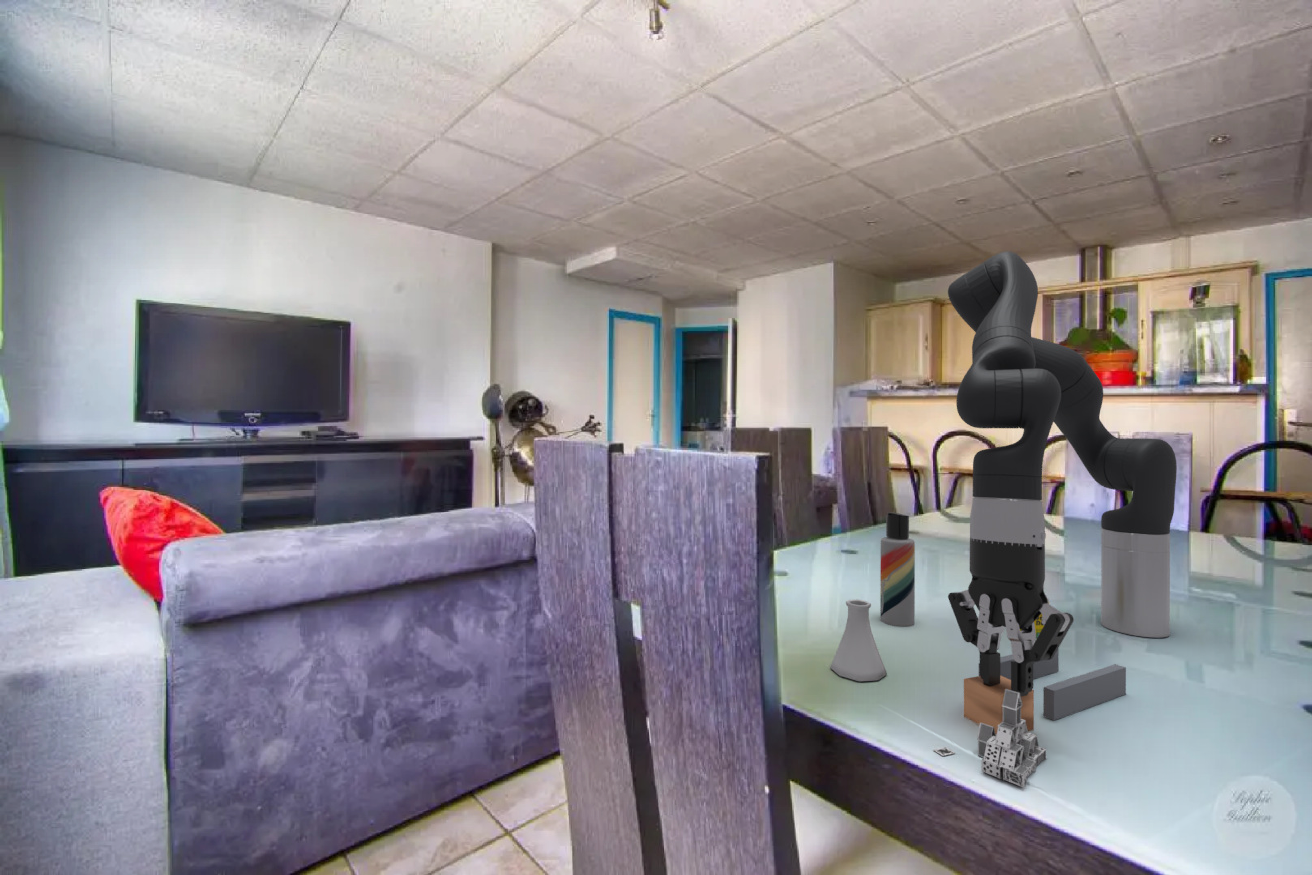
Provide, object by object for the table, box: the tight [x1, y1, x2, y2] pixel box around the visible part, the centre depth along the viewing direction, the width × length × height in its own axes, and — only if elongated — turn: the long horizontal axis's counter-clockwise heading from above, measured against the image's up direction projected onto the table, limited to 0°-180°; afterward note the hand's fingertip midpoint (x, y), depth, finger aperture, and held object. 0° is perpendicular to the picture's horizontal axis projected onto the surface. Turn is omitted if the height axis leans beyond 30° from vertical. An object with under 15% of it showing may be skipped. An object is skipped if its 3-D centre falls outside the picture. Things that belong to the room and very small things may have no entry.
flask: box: [829, 598, 888, 682], centre depth 82 cm, size 7×7×10 cm
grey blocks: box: [978, 647, 1127, 721], centre depth 76 cm, size 16×9×4 cm, turn 117°
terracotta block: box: [963, 675, 1035, 736], centre depth 68 cm, size 5×5×5 cm
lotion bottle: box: [879, 511, 916, 628], centre depth 104 cm, size 6×6×20 cm
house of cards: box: [933, 689, 1047, 789], centre depth 62 cm, size 9×9×8 cm
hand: (1005, 689), depth 66 cm, fingers closed on terracotta block, 2 cm apart
